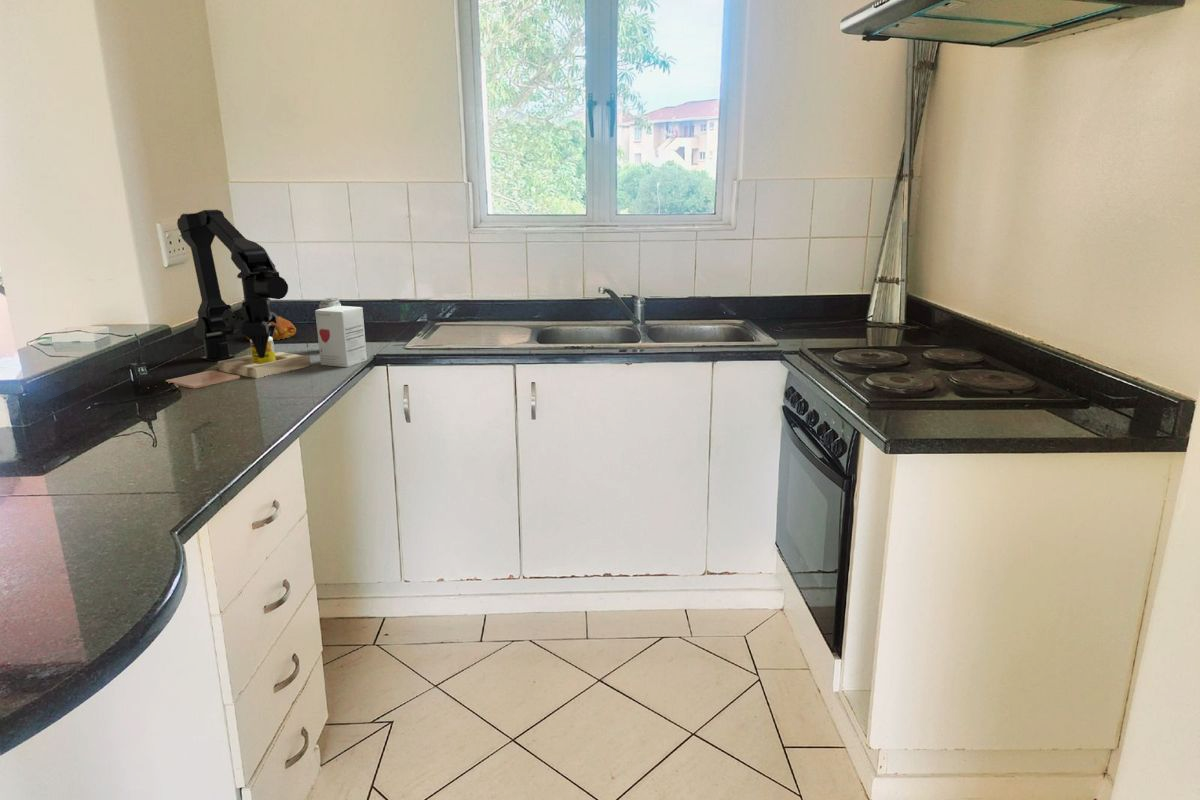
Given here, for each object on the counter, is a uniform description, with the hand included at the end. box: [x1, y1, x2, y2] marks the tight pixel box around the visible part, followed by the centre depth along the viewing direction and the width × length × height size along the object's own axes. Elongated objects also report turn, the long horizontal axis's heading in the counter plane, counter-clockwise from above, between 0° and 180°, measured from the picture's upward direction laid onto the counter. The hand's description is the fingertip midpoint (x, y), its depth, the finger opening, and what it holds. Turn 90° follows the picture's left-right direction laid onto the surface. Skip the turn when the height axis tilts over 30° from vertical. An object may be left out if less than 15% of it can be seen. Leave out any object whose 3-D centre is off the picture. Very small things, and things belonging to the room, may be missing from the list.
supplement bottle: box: [249, 336, 276, 364], centre depth 201 cm, size 6×6×10 cm
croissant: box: [245, 315, 297, 341], centre depth 243 cm, size 14×16×8 cm
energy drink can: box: [318, 297, 342, 309], centre depth 222 cm, size 6×6×15 cm
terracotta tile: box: [165, 369, 241, 389], centre depth 190 cm, size 12×12×1 cm
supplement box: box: [314, 305, 368, 368], centre depth 206 cm, size 9×9×15 cm
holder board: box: [217, 350, 311, 379], centre depth 202 cm, size 16×16×2 cm
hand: (263, 355), depth 201 cm, fingers closed on supplement bottle, 5 cm apart
